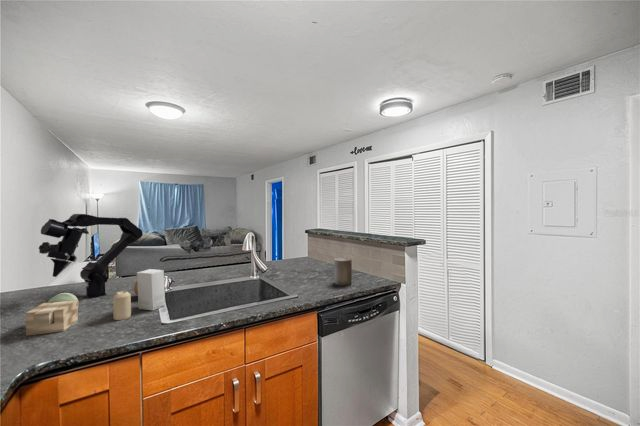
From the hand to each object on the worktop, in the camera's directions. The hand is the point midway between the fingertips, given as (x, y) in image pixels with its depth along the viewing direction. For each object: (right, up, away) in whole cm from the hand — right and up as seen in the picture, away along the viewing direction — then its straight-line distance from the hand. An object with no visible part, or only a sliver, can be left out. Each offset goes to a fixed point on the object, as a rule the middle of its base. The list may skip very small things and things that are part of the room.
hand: (54, 276), depth 117 cm
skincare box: (+41, -13, 0) cm, 43 cm away
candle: (+36, -14, -10) cm, 40 cm away
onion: (+31, -13, +13) cm, 36 cm away
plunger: (+18, -13, -19) cm, 29 cm away
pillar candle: (+125, -12, +37) cm, 131 cm away
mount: (+18, -14, -19) cm, 29 cm away
